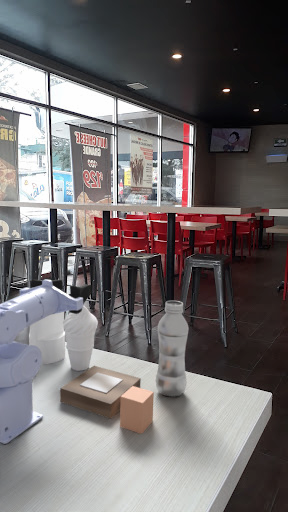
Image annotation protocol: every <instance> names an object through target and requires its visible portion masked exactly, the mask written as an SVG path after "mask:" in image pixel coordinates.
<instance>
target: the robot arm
mask: <svg viewBox="0 0 288 512" xmlns="http://www.w3.org/2000/svg"><path fill="white" fill-rule="evenodd" d="M63 285H64V284H63V279H54V280H51V279H42V280H39V279H32V280H31V281H30V287H27V286H26V287H23V288H20V289H19V295H18V296H16V297H14V298H11V299H8V300H7V301H4V302H2V303H0V443H1V444H8V443H10V442H11V441H13V440H14V439H15V438H16V437H18V436H20V435H21V434H22V433H24V432H26V430H27V429H29V428H30V427H32V426H33V425H35V424H36V423H37V422H39V421H40V420H41V419H43V418H44V415H43V413H39V412H37V411H35V410H34V408H33V406H34V405H33V379H34V378H35V377H36V375H37V373H38V372H39V371H40V369H41V365H42V363H41V361H42V356H41V351H40V349H39V348H38V347H37V346H34V345H29V344H27V343H23V342H19V341H15V340H16V337H17V336H18V334H20V332H22V331H24V330H25V328H28V327H30V325H32V324H34V323H35V322H37V321H39V320H41V319H43V318H45V317H47V316H49V315H51V314H56V313H61V312H64V313H65V312H68V311H69V313H74V314H78V313H80V312H81V311H82V308H83V305H84V306H85V303H86V301H87V300H88V298H89V297H90V296H91V295H92V293H93V289H92V288H93V287H92V284H88V283H87V284H83V285H80V286H78V285H77V286H76V285H69V291H70V293H69V294H68V293H66V292H64V291H63V289H64V286H63Z"/></svg>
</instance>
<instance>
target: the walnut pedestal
mask: <svg viewBox="0 0 288 512" xmlns="http://www.w3.org/2000/svg"><path fill="white" fill-rule="evenodd" d="M141 382H142V381H141V378H140V377H137V376H134V375H131V374H126V373H123V372H119V371H117V370H116V371H115V370H111V369H107V368H104V367H101V366H96V365H93V366H91V367H89V368H88V369H86V370H84V371H83V372H82V373H80V374H79V375H77V377H74V378H73V379H72V380H70V381H68V382H67V383H66V384H64V385H63V386H61V387H60V389H59V395H60V397H59V398H60V399H59V400H60V402H61V403H62V404H63V403H64V405H65V404H66V405H68V406H71V407H74V408H77V409H80V410H84V411H87V412H90V413H92V414H95V415H98V416H102V417H105V418H108V419H112V418H113V417H115V415H116V414H118V413H119V412H120V401H121V396H122V395H123V394H124V393H125V392H126V391H127V390H129V389H130V388H131V387H132V386H134V387H138V388H141Z"/></svg>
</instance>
